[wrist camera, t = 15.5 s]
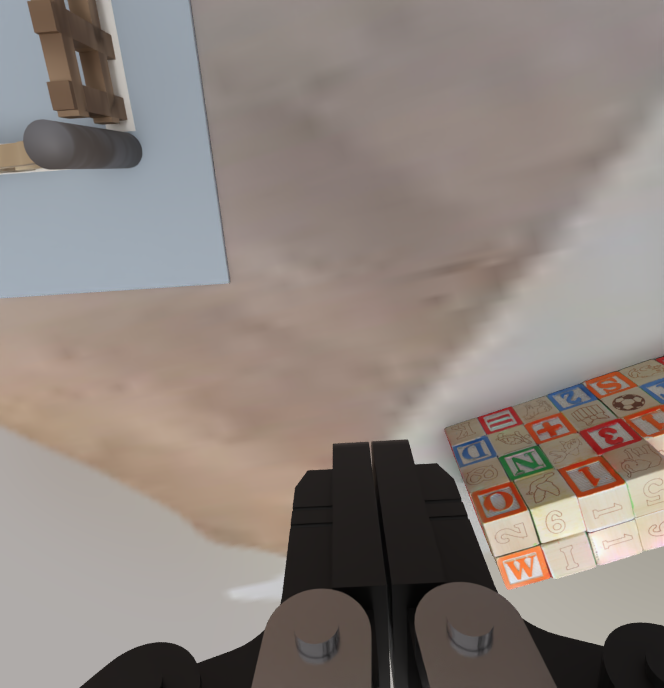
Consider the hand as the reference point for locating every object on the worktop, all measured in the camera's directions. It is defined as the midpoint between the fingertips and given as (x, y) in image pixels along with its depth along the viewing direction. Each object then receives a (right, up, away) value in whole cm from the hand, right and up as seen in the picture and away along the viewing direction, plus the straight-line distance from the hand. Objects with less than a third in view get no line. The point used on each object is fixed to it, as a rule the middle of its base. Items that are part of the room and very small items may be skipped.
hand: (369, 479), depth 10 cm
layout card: (-21, +17, +25) cm, 37 cm away
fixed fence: (-16, +21, +23) cm, 35 cm away
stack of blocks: (+20, -4, +33) cm, 38 cm away
